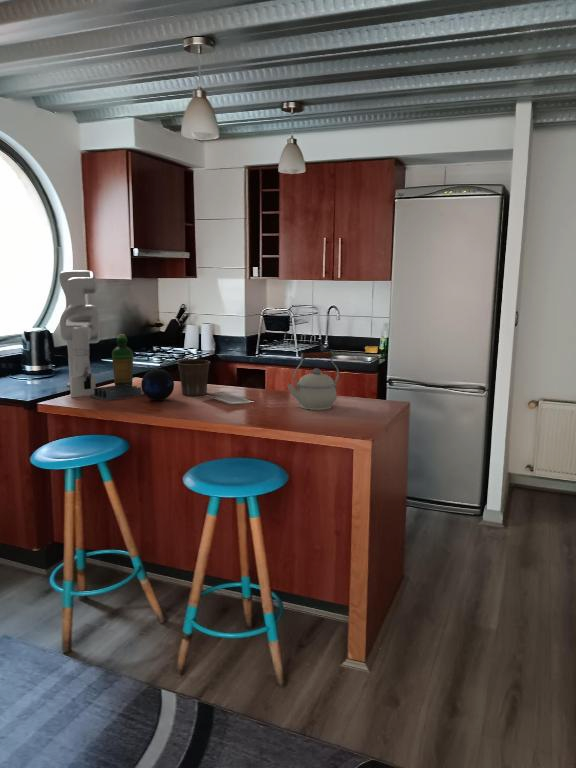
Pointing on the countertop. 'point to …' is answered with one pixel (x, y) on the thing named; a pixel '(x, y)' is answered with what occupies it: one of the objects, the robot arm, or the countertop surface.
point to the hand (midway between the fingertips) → (83, 387)
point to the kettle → (315, 386)
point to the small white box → (81, 386)
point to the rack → (116, 392)
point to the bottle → (122, 362)
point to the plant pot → (193, 376)
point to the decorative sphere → (157, 384)
